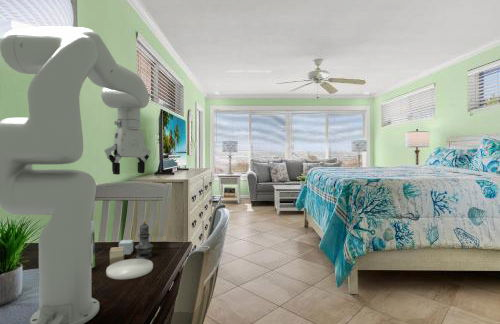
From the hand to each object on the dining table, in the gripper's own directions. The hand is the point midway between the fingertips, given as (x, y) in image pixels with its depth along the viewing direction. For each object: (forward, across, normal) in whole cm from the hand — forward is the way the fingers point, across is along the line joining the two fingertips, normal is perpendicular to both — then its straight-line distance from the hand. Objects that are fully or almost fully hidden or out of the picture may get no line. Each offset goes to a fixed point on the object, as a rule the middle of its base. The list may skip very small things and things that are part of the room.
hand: (129, 173), depth 104 cm
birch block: (+28, -8, -5) cm, 30 cm away
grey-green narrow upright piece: (+28, -18, -3) cm, 34 cm away
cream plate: (+28, -10, -16) cm, 34 cm away
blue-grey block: (+28, -1, 0) cm, 28 cm away
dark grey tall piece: (+28, 0, -8) cm, 30 cm away
